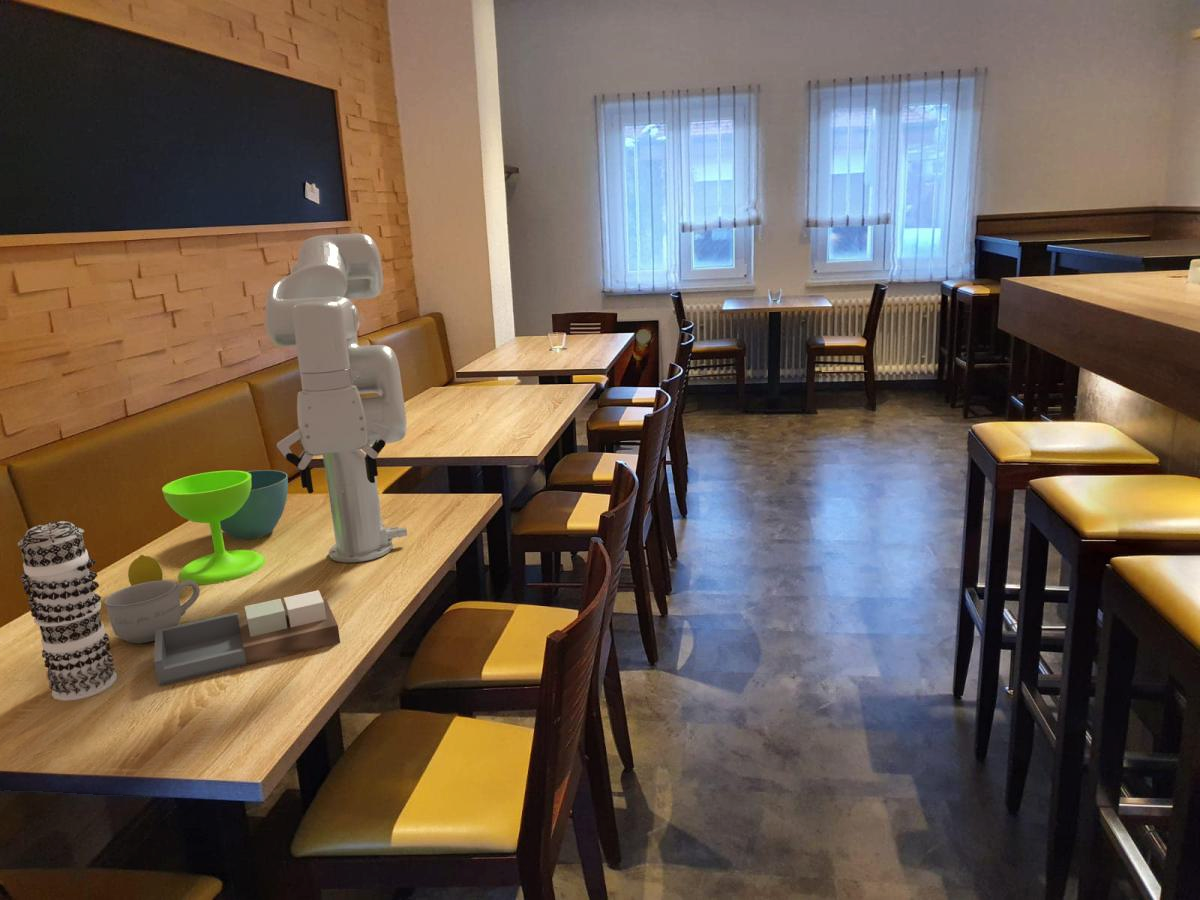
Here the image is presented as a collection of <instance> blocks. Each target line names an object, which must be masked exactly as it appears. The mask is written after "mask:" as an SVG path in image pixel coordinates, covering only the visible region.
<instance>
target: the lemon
mask: <svg viewBox="0 0 1200 900" xmlns="http://www.w3.org/2000/svg"><path fill="white" fill-rule="evenodd" d="M127 574H128V577H127V578H128V582H129V584H130V586H133V585H136V584H141V583H145V582H151V581H161V580H163V578H164V577H163V576H164V575H163V570H162V567H161V565H160V563H159V562H158V560H157V559H155V558H153V557H152V556H148V555H144V554H140V555H139V556H138V557H137V558H135V559H134V560H133V561H132V562H131V563H130V565H129V566H128V573H127Z"/></svg>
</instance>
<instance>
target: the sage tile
mask: <svg viewBox="0 0 1200 900" xmlns="http://www.w3.org/2000/svg"><path fill="white" fill-rule="evenodd" d="M284 607H285V606H284V605H283V601H282V599H281V598H278V599H273V600H267V601H262V602H258V603H253V604H250V605H249V604H248V605H245V606H244V611H245V616H246V617H247V623H248V628H249V633H250V637H252V636H256V635H261V634H265V633H269V632H274V631H278V630H282V629H286V628H287V623H286V616H285V610H284Z"/></svg>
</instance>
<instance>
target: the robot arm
mask: <svg viewBox="0 0 1200 900" xmlns="http://www.w3.org/2000/svg"><path fill="white" fill-rule="evenodd" d="M383 275H384V274H383V267H382V258H381V254H380V251H379V249H378V246H377V243H376V242H375V241H374V239H372V237H371V236H369V235H367V234H365V233H361V232H360V233H359V232H358V233H357V232H356V233H342V234H338V233H337V234H323V235H315V236H311V237H310V238H307V239H306V240H305V241H304V242H302V243H301V245H300V247H299V250H298V254H297V263H296V264H295V265H293V267H292V269H291V273H290V274H288V275H287V276H285V277H283V278H282V279H279V280H278V281H277V282H275V283H274V284H273V285H272V286H271V288H270V289H269V291H268V293H267V296H266V297H267V298H266V304H265V311H264V312H265V313H264V324H265V330H266V333H267V336H268V337H269V339H270V340H271V342H273V344H275V345H276V346H279V347H283V348H284V347H287V348H289V347H296V354H297V361H298V366H299V375H300V382H301V388H302V390H301V391H298V392H297V396H296V397H297V401H296V411H297V413H296V414H297V424H298V425H297V426H298V428H297V429H295V430H294V431H293V432H292V433H291V434H289V435H287V436H285V437H284V438H283V439H281V440H279V441H278V442H277V443H276V447H277V449H278V450H279V451H280V453H281V454H282V455H283V457H284V458H285V459H286V460H287V461H288V462H290V463H291V464H292V465H293V466H296V468H298V469H299V475H300V482H301V486H302V489H305V488H306V491H307V493H308V494H313V493H314V487H313V479H312V473H311V469H310V466H309V464H310V462H311V461H312V459H313V458H314V456H315V457H316V456H322V458H323V459H322V460H323V465H324V470H325V475H326V477H325V478H326V483H327V490H328V497H329V502H330V505H329V506H330V510H331V511H330V512H331V518H332V525H333V533H334V539H335V544H334V545H332V546H331V547H330V548H329V550H328V555H329V558H330V559H331V560H333V561H335V562H340V563H361V562H367V561H371V560H375V559H378V558H380V557H383V556H385V555H388V553H390V552H391V550H393V547H394V546H393V539H395V538H403V537H407V536H408V529H407V527H406V526H403V527H398V525H395V526H391V527H386V526H384V524H383V519H382V512H381V505H380V504H381V503H380V496H379V489H378V480H377V477H378V476H379V472H378V466H377V458H378V456H379V454H380V453H381V452H382V450H383V449H384V447H386V444H392V443H393V444H394V443H399V442H400V441H403V439H404V438H405V436H406V434H407V426H408V425H407V416H406V408H405V400H404V392H403V391H404V390H403V385H402V378H401V377H402V376H401V370H400V365H399V360H398V357H397V354H396V353H395V351H394V349H392V348H391V347H390V346H388V345H385V344H370V345H359V341H358V331H359V328H360V316H359V311H358V308H357V307H356V305H355V304H354V303H353V302H352V301H354V300H367V299H374V298H377V297H378V296H380V295H381V293H382V291H383V287H384V276H383ZM373 393H374V394H377V395H378V396H370V397H361V395H364V394H373ZM297 441H299V442H300V446H301V449H302V450H303V451H302V452H301V453H300V454H299V456H298V455H296V454H294V452H292V451H291V449H290V447H291V446H292V445H293V444H294V443H296V442H297Z"/></svg>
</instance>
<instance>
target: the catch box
mask: <svg viewBox="0 0 1200 900" xmlns="http://www.w3.org/2000/svg"><path fill="white" fill-rule="evenodd" d="M238 618H239V615H238V611H237V612H231V613H226V614H223V615H218V616H213V617H210V618H205V619H201V620H195V621H192V622H191V621H190V622H186V623H183V624H182V623H181V624H177V625H176V626H172V627H168V628H163V629H158V630H155V640H154V655H153V657H154V659H153V660H154V667H155V671H156V676H157V682H158V687H159V688H160V687H163V686H167V685H172V684H175V683H180V682H184V681H188V680H191V679H196V678H199V677H200V678H201V677H204V676H209V675H212V674H213V675H214V674H216V673H217V674H218V673H220V672H225V671H229V670H232V669H237V668H240V667H241V668H242V667H246V666H247V665H246V659H245V654H244V648H243V643H242V638H241V633H240V627H239V621H238Z"/></svg>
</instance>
